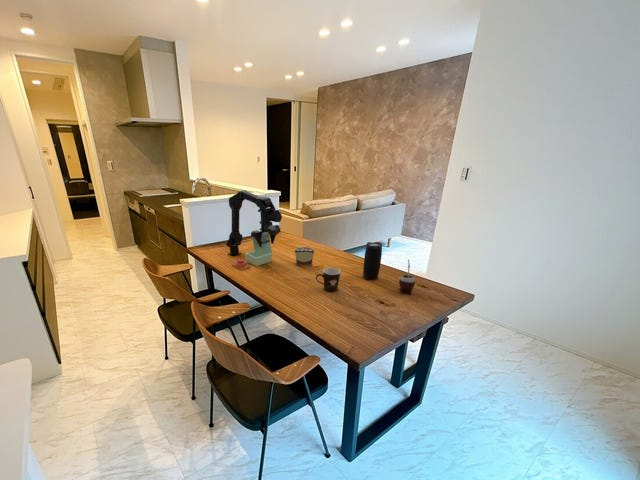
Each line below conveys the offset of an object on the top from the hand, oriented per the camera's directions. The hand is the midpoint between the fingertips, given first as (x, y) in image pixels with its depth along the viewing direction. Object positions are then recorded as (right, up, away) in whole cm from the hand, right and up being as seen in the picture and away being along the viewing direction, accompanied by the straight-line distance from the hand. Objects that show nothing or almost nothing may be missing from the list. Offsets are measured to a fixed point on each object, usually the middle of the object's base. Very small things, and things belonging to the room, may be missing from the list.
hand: (266, 245), depth 180 cm
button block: (-16, -13, +3) cm, 21 cm away
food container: (+23, -11, +6) cm, 26 cm away
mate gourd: (+70, -26, -31) cm, 81 cm away
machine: (-5, -9, +11) cm, 15 cm away
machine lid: (-3, 0, +3) cm, 4 cm away
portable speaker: (+58, -20, -16) cm, 63 cm away
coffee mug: (+32, -25, -27) cm, 49 cm away
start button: (-16, -10, +1) cm, 19 cm away
